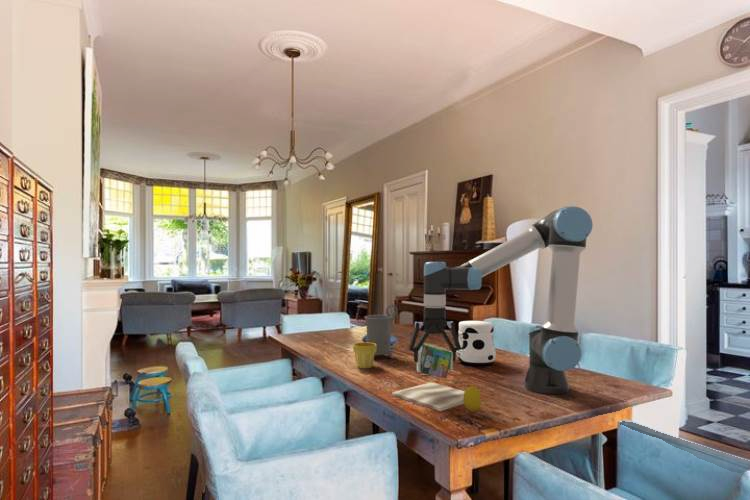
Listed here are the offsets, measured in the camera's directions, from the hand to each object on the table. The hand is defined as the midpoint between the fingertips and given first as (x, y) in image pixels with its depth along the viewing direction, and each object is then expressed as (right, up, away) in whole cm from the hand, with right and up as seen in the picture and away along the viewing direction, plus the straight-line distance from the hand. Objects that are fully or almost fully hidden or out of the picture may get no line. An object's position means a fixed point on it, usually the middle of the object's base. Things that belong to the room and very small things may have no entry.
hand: (434, 370), depth 157 cm
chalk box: (-1, +3, +8) cm, 9 cm away
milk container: (+25, -10, +50) cm, 57 cm away
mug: (-18, -10, +64) cm, 67 cm away
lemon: (+10, -9, -16) cm, 20 cm away
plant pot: (-25, -10, +44) cm, 52 cm away
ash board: (0, -9, 0) cm, 9 cm away
